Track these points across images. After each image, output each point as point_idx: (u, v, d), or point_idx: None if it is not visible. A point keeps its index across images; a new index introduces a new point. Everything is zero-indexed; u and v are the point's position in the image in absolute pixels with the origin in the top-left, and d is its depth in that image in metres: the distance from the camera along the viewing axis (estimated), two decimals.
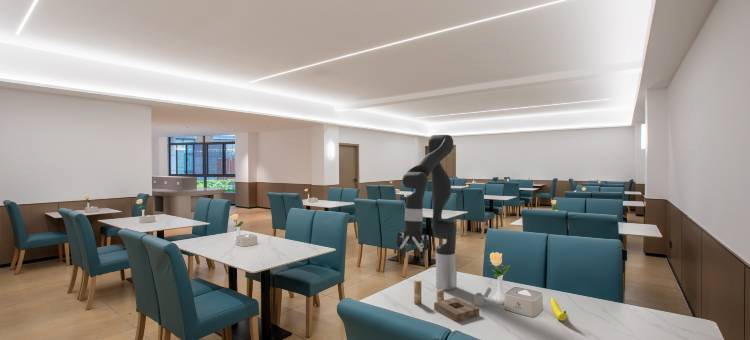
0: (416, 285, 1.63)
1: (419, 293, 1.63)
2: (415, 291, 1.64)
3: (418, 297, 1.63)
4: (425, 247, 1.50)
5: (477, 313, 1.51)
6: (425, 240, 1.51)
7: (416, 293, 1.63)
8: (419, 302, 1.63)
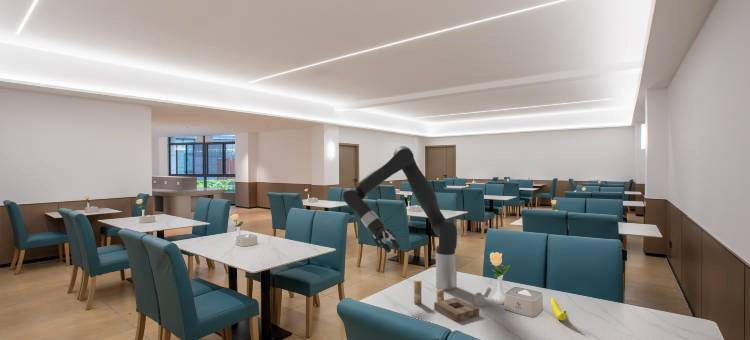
0: (416, 285, 1.63)
1: (419, 293, 1.63)
2: (415, 291, 1.64)
3: (418, 297, 1.63)
4: None
5: (477, 313, 1.51)
6: None
7: (416, 293, 1.63)
8: (419, 302, 1.63)
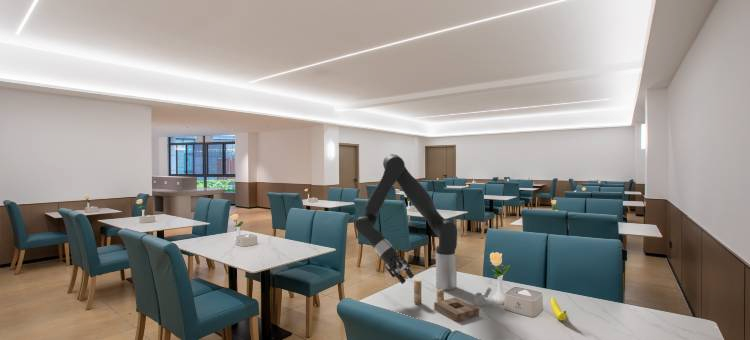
0: (416, 285, 1.63)
1: (419, 293, 1.63)
2: (415, 291, 1.64)
3: (418, 297, 1.63)
4: None
5: (477, 313, 1.51)
6: None
7: (416, 293, 1.63)
8: (419, 302, 1.63)
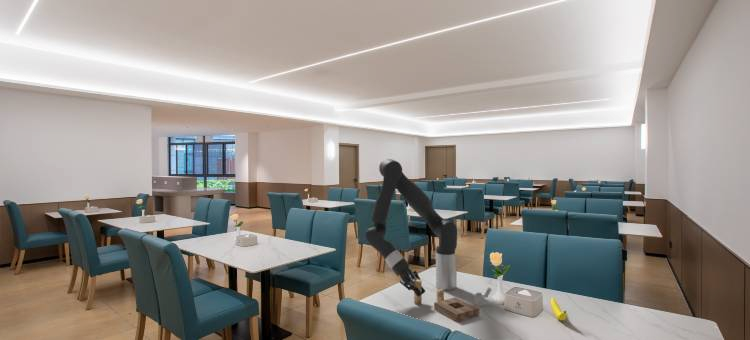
0: (416, 285, 1.63)
1: None
2: None
3: (418, 297, 1.63)
4: None
5: (477, 313, 1.51)
6: None
7: None
8: (419, 302, 1.63)
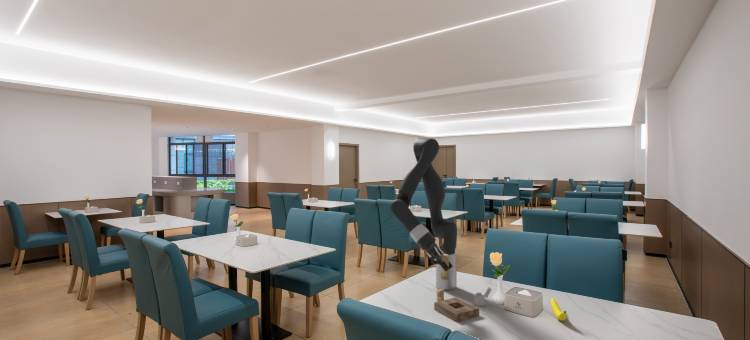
0: (443, 259, 1.55)
1: None
2: None
3: (445, 272, 1.55)
4: None
5: (477, 313, 1.51)
6: None
7: None
8: (446, 277, 1.56)
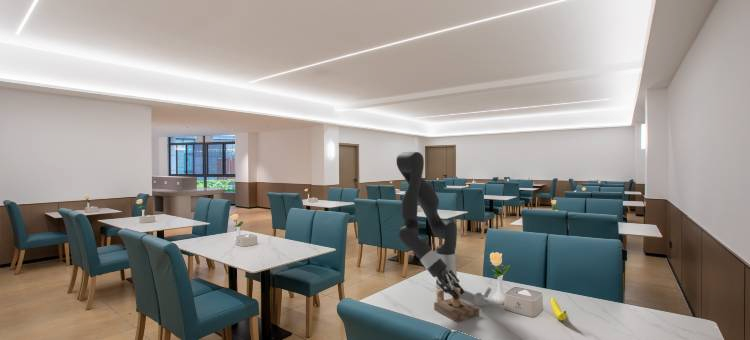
0: None
1: (458, 302, 1.53)
2: (454, 299, 1.54)
3: (457, 306, 1.53)
4: None
5: (477, 313, 1.51)
6: None
7: (455, 302, 1.53)
8: None
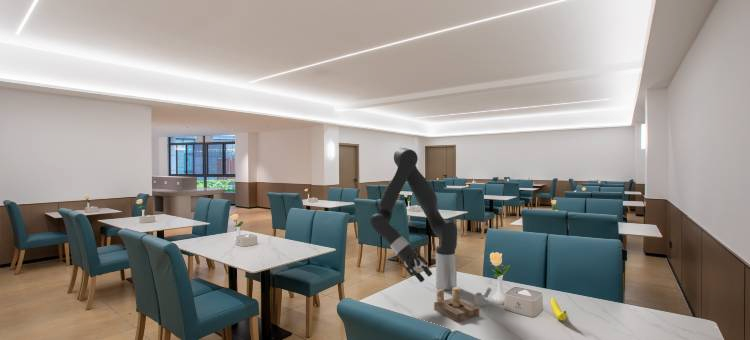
0: (455, 293, 1.53)
1: (458, 302, 1.53)
2: (454, 299, 1.54)
3: (457, 306, 1.53)
4: None
5: (477, 313, 1.51)
6: None
7: (455, 302, 1.53)
8: None
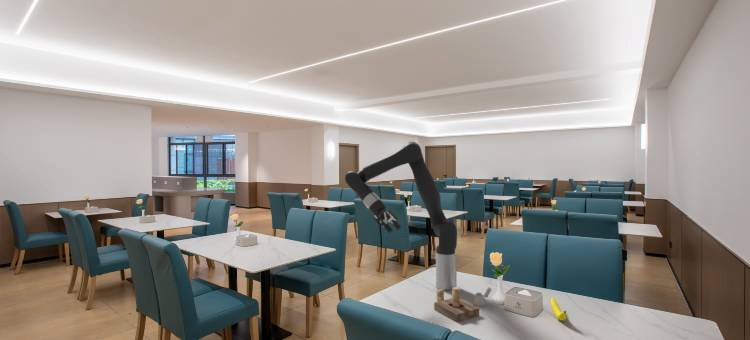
0: (455, 293, 1.53)
1: (458, 302, 1.53)
2: (454, 299, 1.54)
3: (457, 306, 1.53)
4: None
5: (477, 313, 1.51)
6: None
7: (455, 302, 1.53)
8: None
